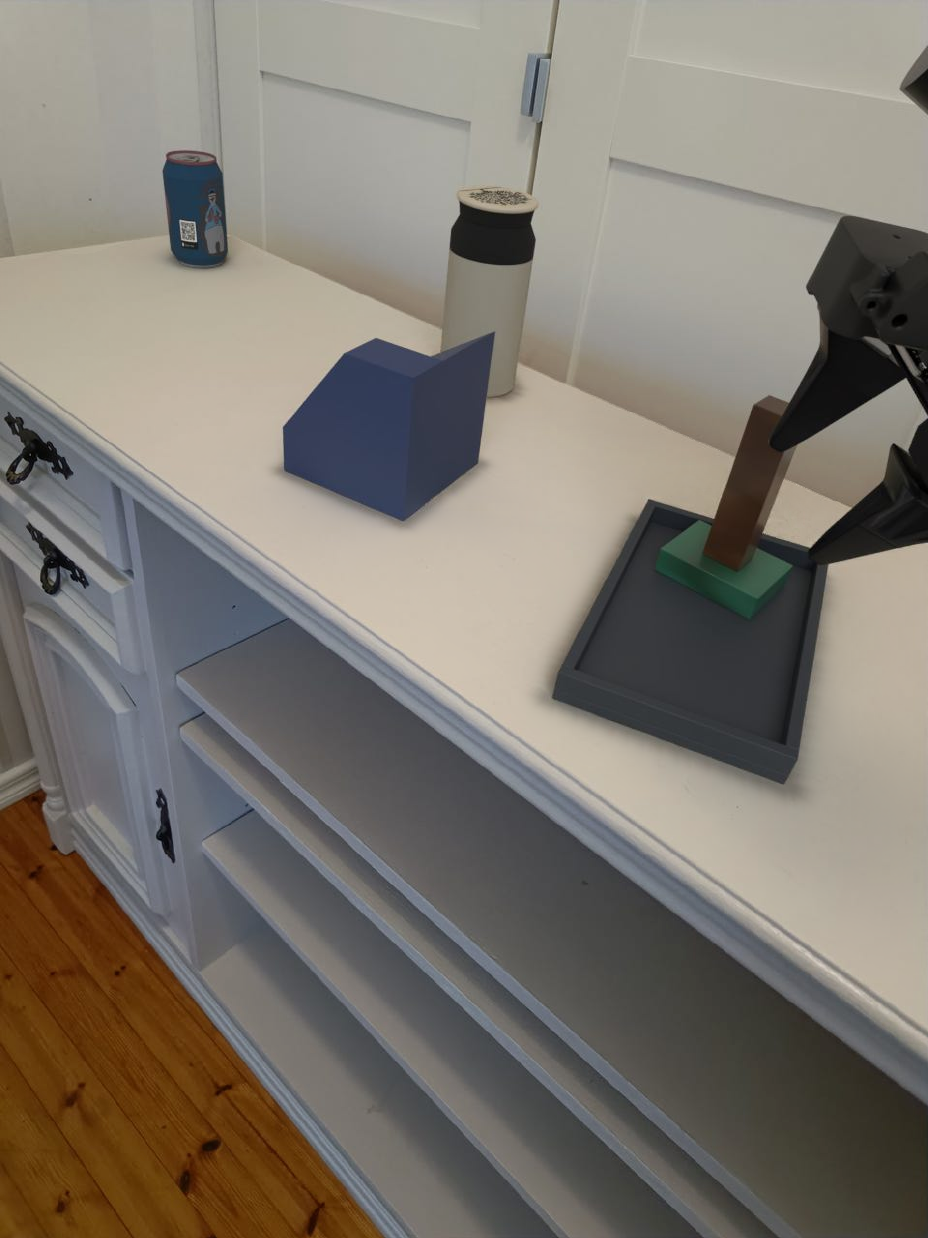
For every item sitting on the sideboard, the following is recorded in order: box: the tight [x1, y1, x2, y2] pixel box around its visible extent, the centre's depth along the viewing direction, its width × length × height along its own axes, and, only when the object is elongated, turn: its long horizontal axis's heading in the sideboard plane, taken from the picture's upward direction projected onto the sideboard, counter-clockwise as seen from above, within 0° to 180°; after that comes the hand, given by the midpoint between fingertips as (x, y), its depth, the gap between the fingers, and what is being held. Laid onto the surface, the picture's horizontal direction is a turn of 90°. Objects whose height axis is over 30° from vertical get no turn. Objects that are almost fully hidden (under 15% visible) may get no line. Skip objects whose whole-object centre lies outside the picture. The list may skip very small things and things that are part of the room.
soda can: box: [162, 149, 229, 269], centre depth 104 cm, size 7×7×12 cm
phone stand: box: [282, 331, 495, 522], centre depth 70 cm, size 12×12×12 cm
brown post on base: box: [655, 394, 798, 620], centre depth 60 cm, size 8×6×14 cm
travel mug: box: [439, 185, 539, 398], centre depth 83 cm, size 8×8×18 cm
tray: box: [551, 498, 829, 785], centre depth 60 cm, size 24×15×2 cm, turn 157°
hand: (792, 499), depth 45 cm, fingers open, 9 cm apart
